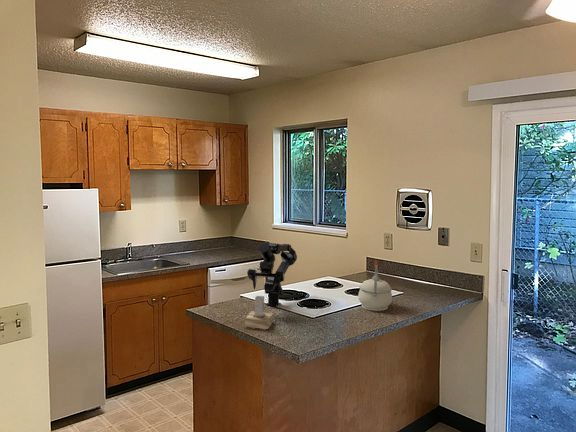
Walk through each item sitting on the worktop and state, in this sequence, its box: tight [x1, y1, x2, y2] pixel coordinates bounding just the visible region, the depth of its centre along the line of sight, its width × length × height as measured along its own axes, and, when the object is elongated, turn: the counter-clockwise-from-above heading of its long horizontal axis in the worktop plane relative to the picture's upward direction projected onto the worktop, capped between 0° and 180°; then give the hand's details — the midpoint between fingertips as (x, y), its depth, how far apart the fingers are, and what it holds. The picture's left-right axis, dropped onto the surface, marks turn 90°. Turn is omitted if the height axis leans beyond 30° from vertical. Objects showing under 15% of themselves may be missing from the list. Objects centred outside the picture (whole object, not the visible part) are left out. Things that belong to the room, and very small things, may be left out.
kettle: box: [357, 259, 393, 312], centre depth 258 cm, size 25×18×25 cm
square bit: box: [254, 295, 265, 318], centre depth 224 cm, size 4×4×13 cm
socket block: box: [244, 310, 274, 330], centre depth 224 cm, size 11×11×4 cm
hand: (263, 289), depth 237 cm, fingers open, 9 cm apart
